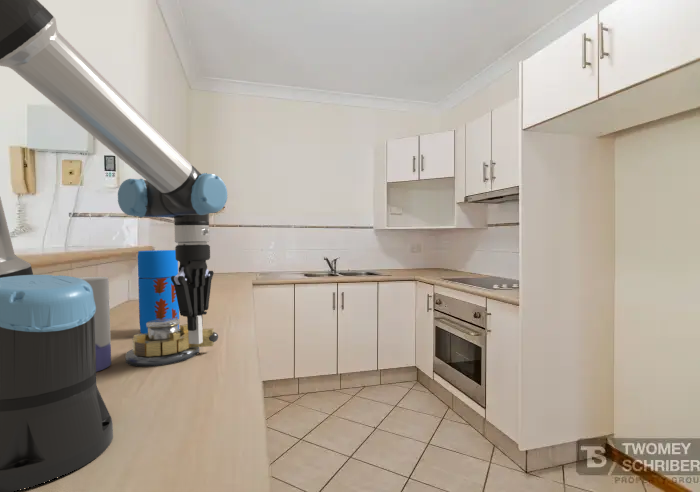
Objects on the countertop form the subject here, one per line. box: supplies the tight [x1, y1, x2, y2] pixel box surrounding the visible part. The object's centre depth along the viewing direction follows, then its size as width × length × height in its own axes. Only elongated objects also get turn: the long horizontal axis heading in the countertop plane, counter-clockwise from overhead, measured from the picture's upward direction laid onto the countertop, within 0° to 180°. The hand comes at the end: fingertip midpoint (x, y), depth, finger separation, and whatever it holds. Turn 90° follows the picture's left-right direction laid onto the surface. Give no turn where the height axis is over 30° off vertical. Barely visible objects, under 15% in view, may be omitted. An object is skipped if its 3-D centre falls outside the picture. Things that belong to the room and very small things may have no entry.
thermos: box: [137, 249, 180, 334], centre depth 110 cm, size 11×11×25 cm
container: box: [78, 276, 112, 373], centre depth 79 cm, size 10×10×20 cm
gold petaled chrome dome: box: [132, 323, 219, 357], centre depth 89 cm, size 19×13×4 cm
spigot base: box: [125, 318, 200, 368], centre depth 88 cm, size 17×16×8 cm
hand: (195, 342), depth 86 cm, fingers closed
